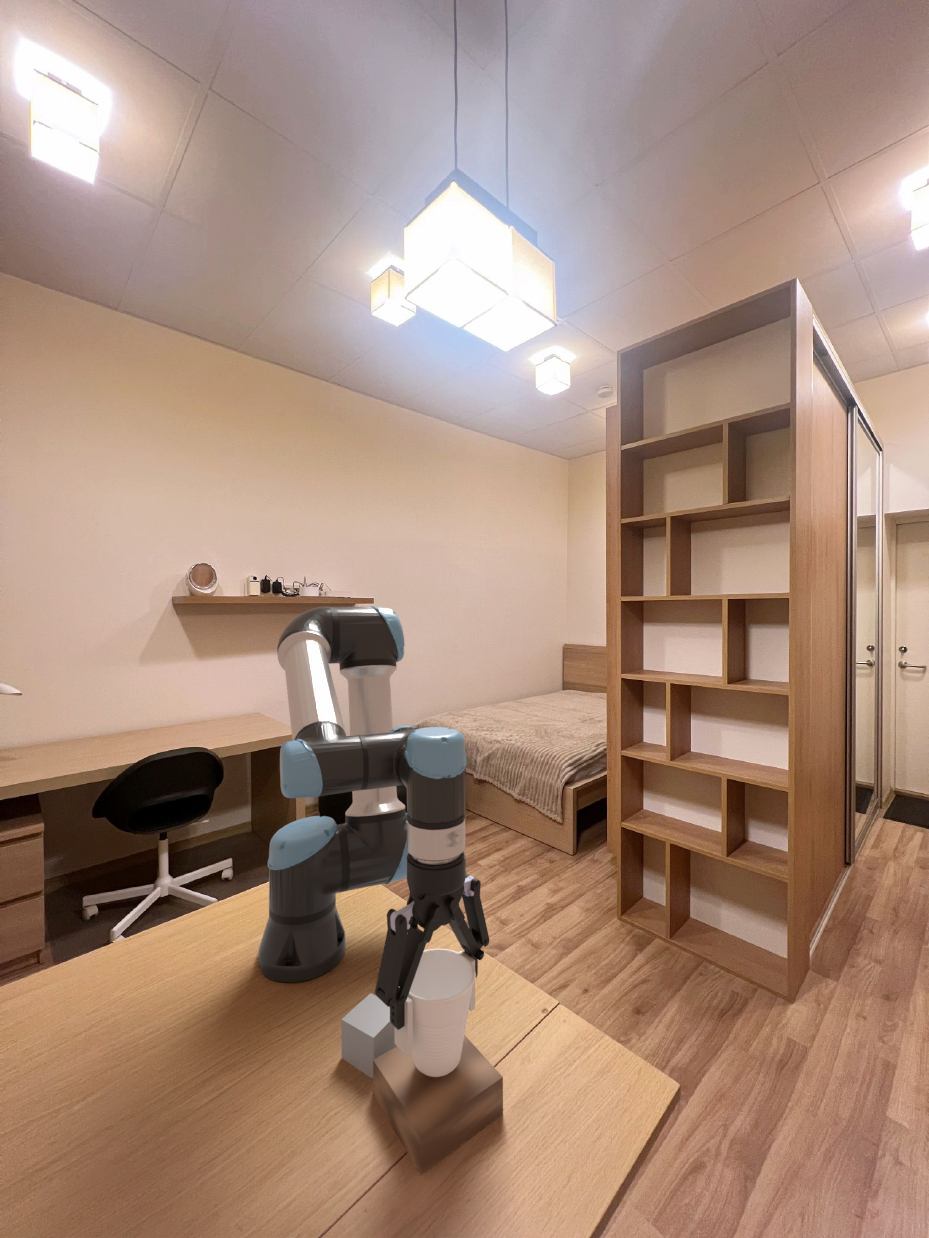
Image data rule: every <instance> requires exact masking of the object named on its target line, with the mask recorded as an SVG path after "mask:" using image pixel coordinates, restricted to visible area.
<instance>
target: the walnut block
mask: <svg viewBox="0 0 929 1238" xmlns="http://www.w3.org/2000/svg"><path fill="white" fill-rule="evenodd" d="M372 1081H373V1083H372V1091H373V1092H372V1094H373V1096H374V1098H375V1099H376V1101H377V1103H378V1105H379V1106H380V1108H381V1109H382V1111H383V1113H384V1115H385V1116H386V1119H387V1120H388V1122H389V1123H390V1125H391V1127H392V1129H393V1130H394V1132H395V1135H396V1136H397V1137H398V1140H400V1143H401V1144H402V1146H403V1147H404V1149H405V1151H406V1153H407V1154H408V1156H409V1158H410V1159H411V1161H412V1162H413V1164H414V1166H415V1167H416V1169H417V1170H418V1173H419V1174H420V1176H423V1175H424V1174H425V1173H427V1172H428V1171H429V1170H431V1169H432V1168H433V1167H434V1166H436V1165H438V1163H440V1162H441V1161H444V1159H446V1157H448V1156H450V1155H451V1154H453V1152H455V1151H456V1150H457V1149H458V1148H460V1147H461V1146H462V1145H464V1144H465V1143H467V1142H468V1141H469V1140H471V1139H472V1138H473V1137H474V1136H476V1135H477V1134H478V1133H480V1132H481V1131H482V1130H484V1129H486V1128H487V1127H489V1125H491V1124H492V1123H493V1122H494V1121H496V1120H497V1119H499V1118H500V1117H502V1115H504V1076H503V1075H501V1073H500V1072H499V1071H498V1070H497V1068H495V1067H494V1066H493V1065H492V1063H491V1062H490V1061H489V1060H488V1059H487V1058H486V1057H485V1055H483V1053H482V1052H481V1051H480V1050H479V1049H478V1048H477V1047H476V1046H475V1045H474V1043H472V1041H471V1040H470V1039H469V1038H468V1037H467V1036H466V1034H464V1040H463V1047H462V1053H461V1059H460V1062H459V1064H458V1065H457V1067H456V1068H455V1069H454V1070H453V1071H451V1072H450V1073H449V1074H447V1075H444V1076H441V1077H431V1076H427V1075H425V1074H423V1073H422V1072H420V1071H419V1070H418V1069H417V1068H416V1066H415V1064H414V1062H413V1057H412V1055H410V1056H409V1057H407V1056H406V1055H405V1054H404V1053H403V1052H402V1051H401V1050H400V1049H399V1048H398V1047H395V1048H393V1049H392V1050H390V1051H388V1052H386V1053H384V1054H383V1055H381V1056H379V1057H377V1058H376V1059H374V1060H373V1079H372Z"/></svg>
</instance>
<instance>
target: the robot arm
mask: <svg viewBox="0 0 929 1238" xmlns="http://www.w3.org/2000/svg"><path fill="white" fill-rule="evenodd" d="M276 655H277V661H278V664H279V665H280V667H281V668H282V669H283V670H284V672H285V682H286V684H285V685H286V690H287V691H286V692H287V693H286V694H287V702H288V710H289V711H288V712H289V720H290V721H289V722H290V729H291V739H292V740H290V741H285V742H284V743H282V744H281V746H280V752H279V775H280V777H279V779H280V780H279V781H280V791H281V794H282V795H283V796H284V797H285V798H287V799H301V798H302V799H303V798H318V797H323V796H324V797H325V796H328V795H329V796H330V795H336V794H344V793H345V794H346V793H351V792H352V803H351V805H349V808H347V810H346V811H345V814H344V815H345V820H344V821H345V822H344V823H340V824H337V822H336V821H335V820H334V818H332V817H330V816H326V815H323V816H320V815H314V816H312V815H311V816H308V817H302V818H300V819H297V820H294V821H291V822H290V823H288V824H286V825H283V827H281V828H280V829H278V830H277V831H276V832H275V834H273V836H272V837H271V839H270V842H269V849H268V850H269V851H268V859H267V868H268V869H269V870H268V872H269V873H268V875H269V876H268V919H267V921H266V925H265V928H264V930H263V935H262V937H261V941H260V944H259V947H258V968H259V970H260V972H261V973H262V975H263V976H265V977H266V978H268V979H270V980H273V981H275V982H279V983H280V982H282V983H296V982H302V981H307V980H311V979H315V978H317V977H319V976H321V975H324V974H325V973H327V972H328V971H330V970H332V969H333V968H334V967H336V965H338V963H340V961H341V960H342V958H343V957H344V956H345V952H346V947H347V945H346V932H345V928H344V925H343V922H342V920H341V916H340V914H339V912H338V911H339V910H338V908H337V905H336V904H337V903H336V900H337V895H336V894H340V893H344V892H349V891H353V890H359V889H365V888H368V887H375V886H379V885H390V884H391V883H394V882H397V881H401V880H404V879H406V882H407V887H408V890H409V896H408V899H407V902H406V905H405V906H403V907H401V908H399V909H398V910H396V909H395V908H390V909H388V911H387V913H386V923H387V924H386V925H387V931H386V937H385V941H384V944H383V945H384V947H383V950H382V955H381V960H380V965H379V968H378V969H379V970H378V975H377V981H376V985H375V989H374V995H376V996H377V997H378V998H379V999H380V1000H381V1001H382V1002H383V1003H384V1004H385V1005H386V1006H388V1007H390V1022H391V1024H392V1025H393V1026H394V1027H395V1044H396V1045H397V1047H398V1048H399V1049H400V1050H401V1051H402V1052H403V1053H404V1054H405V1055H406V1056H407V1057H409V1056H410V1055H412V1054H413V999H412V998H410V997H409V996H408V994H409V991H410V988H411V986H412V983H413V980H414V977H415V974H416V971H417V968H418V966H419V963H420V960H421V957H422V954H423V951H424V950H425V949H426V945H427V944H428V943H430V942H431V940H432V938H433V934H434V932H435V931H437V930H439V929H440V928H441V927H442V926H446V925H448V924H449V926H450V928H451V930H452V932H453V934H454V936H455V937H456V939H457V941H458V943H459V945H460V947H461V948H462V950H460V951H458V952H459V953H461V954H462V955H464V956H466V957H467V958H468V959H469V960H470V961H471V962H472V964H473V966H474V968H475V972H476V978H477V977H478V974H479V973H478V972H479V965H478V963H479V961H481V960H482V959H484V957H485V951H484V950H482V948H483V947H487V946H489V944H490V935H489V930H488V926H487V921H486V917H485V914H484V908H483V904H482V899H481V880H479V879H478V878H477V877H474V876H473V875H470V874H468V873H466V867H467V866H466V859H467V858H466V857H467V856H466V853H465V849H466V783H467V782H466V779H467V777H466V773H467V772H466V771H467V763H468V762H467V760H468V759H467V754H466V744H465V743H466V742H465V737H464V734H463V733H462V732H461V731H459V730H458V729H455V728H449V727H446V726H444V727H443V726H430V727H429V726H428V727H421V728H418V727H417V726H413V725H400V726H397V727H395V728H394V726H393V724H394V722H393V711H392V710H393V708H392V693H391V692H392V691H391V690H392V689H391V676H392V675H393V674H394V673H395V671H397V663H398V662H401V661H402V660H403V658H404V656H405V636H404V630H403V626H402V623H401V620H400V617H399V616H398V615H397V613H396V611H394V610H393V609H391V608H389V607H378V606H374V605H371V606H318V607H315V608H311V609H308V610H306V611H304V612H302V613H299V614H298V615H297V616H296V617H294V618H293V619H292V620H291V621H290V622H289V623H288V624H287V625H286V626H285V628H284V629H283V630H282V632H281V634H280V637H279V639H278V643H277V653H276ZM330 664H331V665H332V664H339V674H340V675H341V676H342V677H343V678H345V679H346V680H347V691H348V693H347V696H348V715H349V717H348V718H349V719H348V720H349V735H347V733H346V728H345V725H344V720H343V717H342V716H343V715H342V713H341V708H340V705H339V701H338V697H337V692H336V689H335V688H336V687H335V684H334V680H333V676H332V673H331V668H330ZM397 786H398V787H399V786H403V787H404V789H406V805H405V804H404V803H403V802H402V801H400V800H399V798H398V793H397V791H398V789H397ZM461 900H462V903H463V906H464V907H463V908H464V911H465V915H466V917H465V915H464V912H463V911H462V909H461V907H460V901H461ZM465 919H466V920H467V922H466V920H465ZM418 926H419V927H421V928H422V929H423V930H422V929H420V928H419V927H418ZM476 978H475V979H476ZM475 1009H476V981H475V982H474V984H473V986H472V992H471V998H470V1004H469V1010H468V1011H469V1012H473V1011H474V1010H475Z"/></svg>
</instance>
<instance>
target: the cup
mask: <svg viewBox="0 0 929 1238" xmlns="http://www.w3.org/2000/svg"><path fill="white" fill-rule="evenodd" d="M459 952H460V951H456V950H453V949H448V948H430V949H424V951H423V954H422V957H421V960H420V963H419V966H418V968H417V971H416V974H415V977H414V980H413V983H412V986H411V988H410V991H409V994H408V996H409V997H410V998H412V999H413V1054H412V1057H413V1062H414V1064H415V1066H416V1068H417V1069H418V1070H419V1071H420V1072H422V1073H423V1074H425V1075H427V1076H431V1077H441V1076H444V1075H447V1074H449V1073H450V1072H451V1071H453V1070H454V1069H455V1068H456V1067H457V1065H458V1064H459V1062H460V1059H461V1053H462V1047H463V1040H464V1035H466V1033H465V1032H466V1027H467V1021H468V1020H467V1019H468V1015H469V1011H470V1010H469V1004H470V998H471V992H472V986H473V984H474V982H475V983H476V972H475V968H474V966H473V964H472V962H471V961H470V960H469V959H468V958H467V957H466V956H464V955H462V954H461V953H459Z"/></svg>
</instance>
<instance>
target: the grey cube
mask: <svg viewBox="0 0 929 1238" xmlns="http://www.w3.org/2000/svg"><path fill="white" fill-rule="evenodd" d="M340 1023H341V1025H340V1026H341V1029H340V1030H341V1037H340V1039H341V1040H340V1041H341V1043H340V1044H341V1060H343V1061H345V1062H347V1063H348V1064H350V1065H351V1066H352V1067H354V1068H355V1069H356V1070H358V1071H359V1072H361V1073H363V1074H364V1075H366V1076H367V1077H369V1078H371V1079H372V1080H373V1060H374V1059H376V1058H377V1057H379V1056H381V1055H383V1054H384V1053H386V1052H388V1051H390V1050H392V1049H393V1048H395V1047H397V1045H396V1044H395V1027H394V1026H393V1025H392V1024H391V1022H390V1007H388V1006H386V1005H385V1004H384V1003H383V1002H382V1001H381V1000H380V999H379V998H378V997H377V996H376V995H375V993H374V994H373V993H372V992H371V993H369V994H368V995H367V996H366V997H364V998H363V999H362V1000H361V1001H360V1002H359V1003H357V1005H355V1007H353V1008H352V1009H351V1010H349V1012H348V1013H347V1014H346V1015H345V1016H343V1018H341V1022H340Z"/></svg>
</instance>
